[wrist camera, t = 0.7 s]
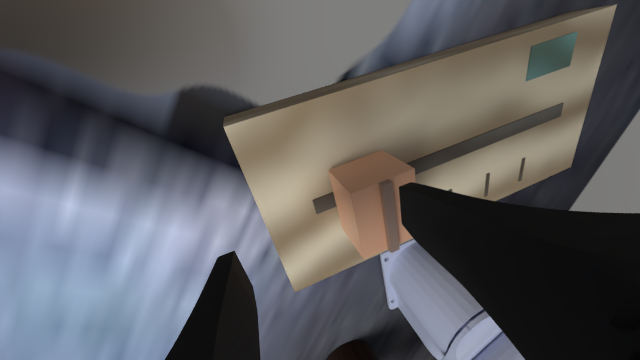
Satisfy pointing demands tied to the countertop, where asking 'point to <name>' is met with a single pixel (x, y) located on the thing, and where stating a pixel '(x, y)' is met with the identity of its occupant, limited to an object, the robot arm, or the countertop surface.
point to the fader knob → (372, 201)
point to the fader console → (422, 130)
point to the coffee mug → (353, 351)
